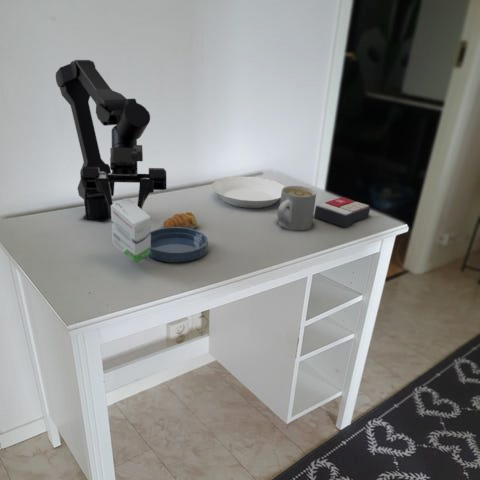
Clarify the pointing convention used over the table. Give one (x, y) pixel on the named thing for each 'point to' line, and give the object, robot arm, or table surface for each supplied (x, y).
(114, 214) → the ink box
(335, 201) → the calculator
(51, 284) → the table surface
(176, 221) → the pastry
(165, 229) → the glazed bowl
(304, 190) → the coffee mug
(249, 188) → the bowl
